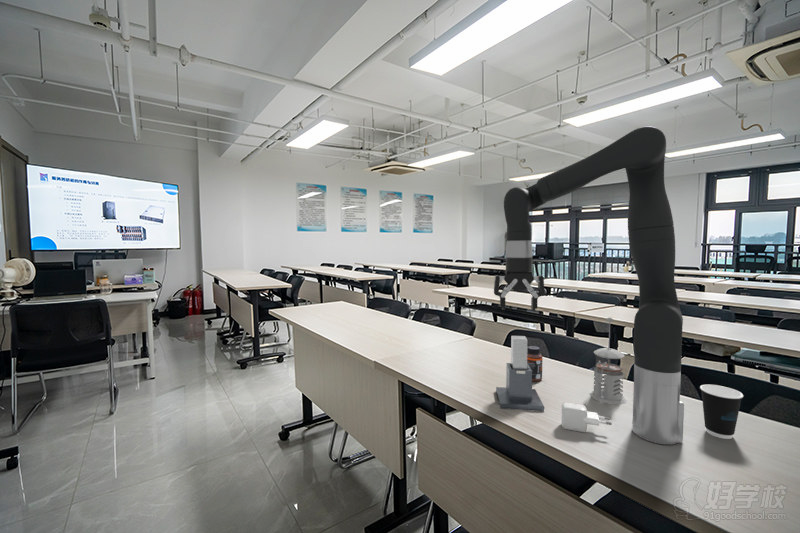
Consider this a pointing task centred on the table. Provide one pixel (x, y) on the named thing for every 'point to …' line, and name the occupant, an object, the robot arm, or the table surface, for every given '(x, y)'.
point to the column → (519, 352)
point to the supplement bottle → (535, 362)
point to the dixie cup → (720, 410)
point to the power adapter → (580, 417)
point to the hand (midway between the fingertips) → (518, 309)
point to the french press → (608, 376)
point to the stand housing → (519, 391)
